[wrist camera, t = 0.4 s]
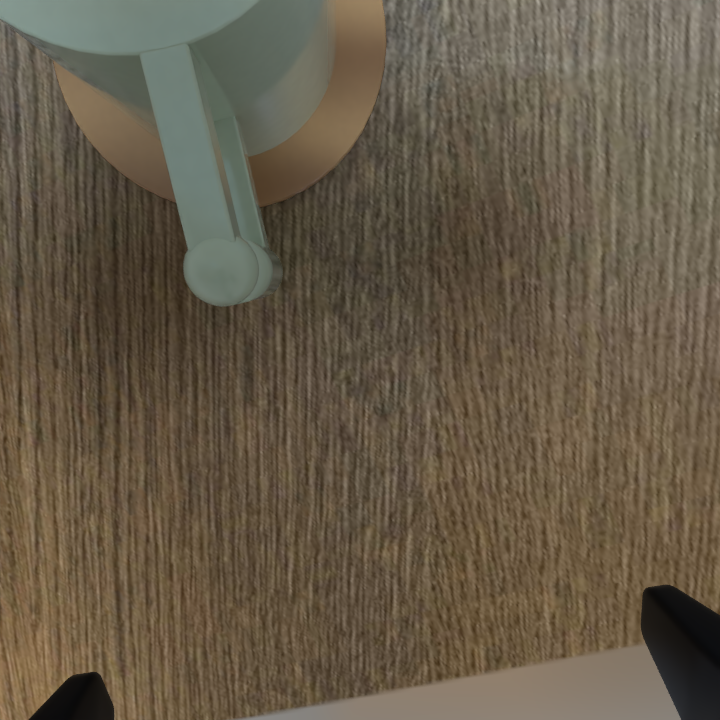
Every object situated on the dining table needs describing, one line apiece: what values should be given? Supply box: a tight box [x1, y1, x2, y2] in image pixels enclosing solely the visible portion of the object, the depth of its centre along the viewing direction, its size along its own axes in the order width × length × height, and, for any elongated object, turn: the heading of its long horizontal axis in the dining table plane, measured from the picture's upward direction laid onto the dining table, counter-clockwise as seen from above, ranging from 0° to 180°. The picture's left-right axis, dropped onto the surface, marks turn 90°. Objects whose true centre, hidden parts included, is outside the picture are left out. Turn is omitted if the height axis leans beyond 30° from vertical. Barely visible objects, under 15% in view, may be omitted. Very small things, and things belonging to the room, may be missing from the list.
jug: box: [0, 0, 336, 307], centre depth 16 cm, size 15×8×10 cm, turn 12°
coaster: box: [53, 0, 386, 208], centre depth 21 cm, size 12×12×1 cm
